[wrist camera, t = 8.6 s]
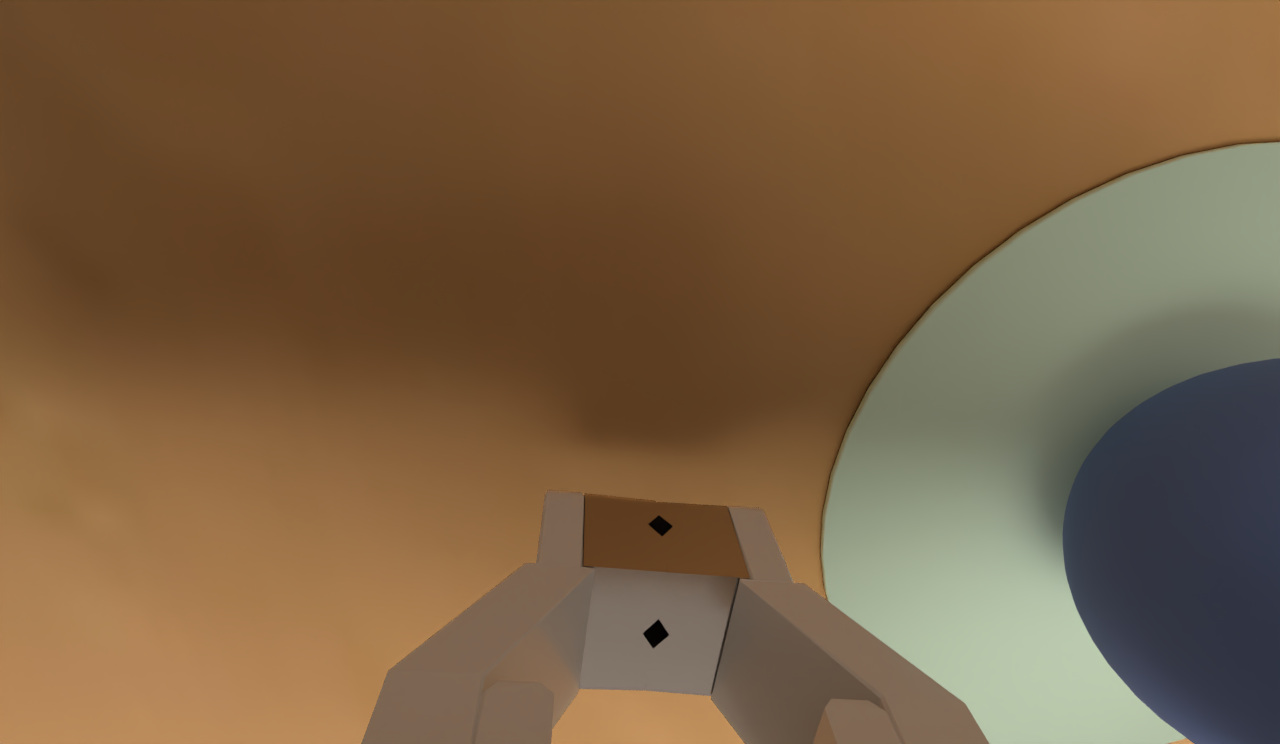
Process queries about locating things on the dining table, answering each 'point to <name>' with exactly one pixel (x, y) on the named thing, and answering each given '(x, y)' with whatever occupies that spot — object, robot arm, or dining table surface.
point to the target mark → (1042, 433)
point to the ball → (1188, 553)
